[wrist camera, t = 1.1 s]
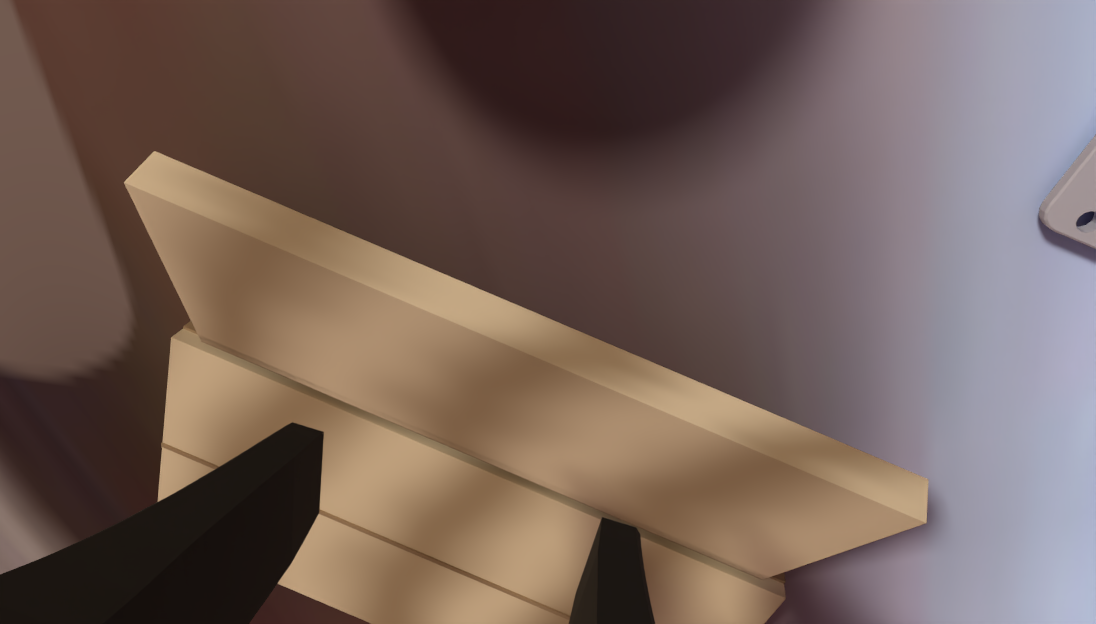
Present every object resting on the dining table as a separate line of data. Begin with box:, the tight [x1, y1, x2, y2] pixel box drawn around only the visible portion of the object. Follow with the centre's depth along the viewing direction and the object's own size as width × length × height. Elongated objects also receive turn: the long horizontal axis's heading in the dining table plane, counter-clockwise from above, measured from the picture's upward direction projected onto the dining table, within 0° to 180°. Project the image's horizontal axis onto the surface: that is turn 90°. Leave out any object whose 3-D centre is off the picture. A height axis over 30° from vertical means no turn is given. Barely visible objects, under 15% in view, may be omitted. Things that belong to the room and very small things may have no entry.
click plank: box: [124, 151, 928, 580], centre depth 19 cm, size 20×8×1 cm, turn 70°
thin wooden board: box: [158, 321, 786, 624], centre depth 26 cm, size 22×10×1 cm, turn 70°
